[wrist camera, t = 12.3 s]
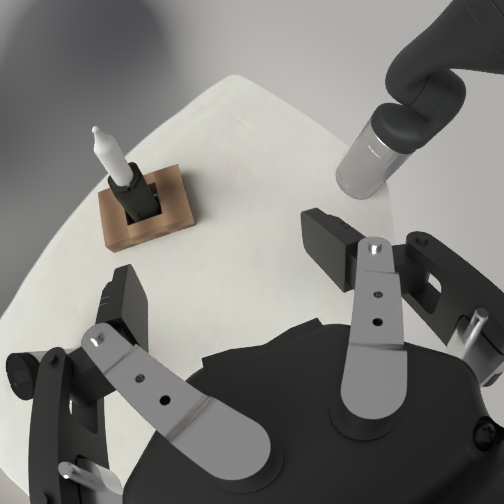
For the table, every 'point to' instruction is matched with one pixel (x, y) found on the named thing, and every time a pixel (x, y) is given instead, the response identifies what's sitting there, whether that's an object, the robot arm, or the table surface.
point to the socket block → (173, 218)
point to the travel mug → (25, 372)
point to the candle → (125, 179)
